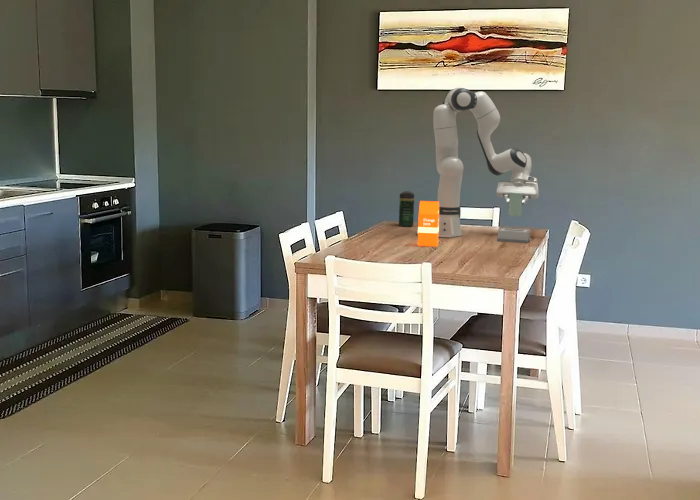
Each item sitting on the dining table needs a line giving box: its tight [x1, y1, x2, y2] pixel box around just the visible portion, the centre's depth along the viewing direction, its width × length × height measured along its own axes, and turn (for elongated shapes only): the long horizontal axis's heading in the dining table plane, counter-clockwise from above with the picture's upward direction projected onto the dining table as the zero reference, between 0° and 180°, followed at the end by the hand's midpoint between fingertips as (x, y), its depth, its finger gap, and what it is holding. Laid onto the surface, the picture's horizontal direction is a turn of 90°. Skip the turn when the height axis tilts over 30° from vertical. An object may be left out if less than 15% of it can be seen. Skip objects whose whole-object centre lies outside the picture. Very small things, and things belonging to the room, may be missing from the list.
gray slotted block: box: [496, 227, 531, 244], centre depth 368 cm, size 14×10×5 cm
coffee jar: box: [398, 190, 415, 228], centre depth 413 cm, size 10×8×19 cm
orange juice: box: [417, 200, 440, 247], centre depth 351 cm, size 8×9×20 cm
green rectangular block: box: [507, 192, 524, 217], centre depth 373 cm, size 4×6×11 cm, turn 69°
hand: (515, 203), depth 373 cm, fingers closed on green rectangular block, 6 cm apart
